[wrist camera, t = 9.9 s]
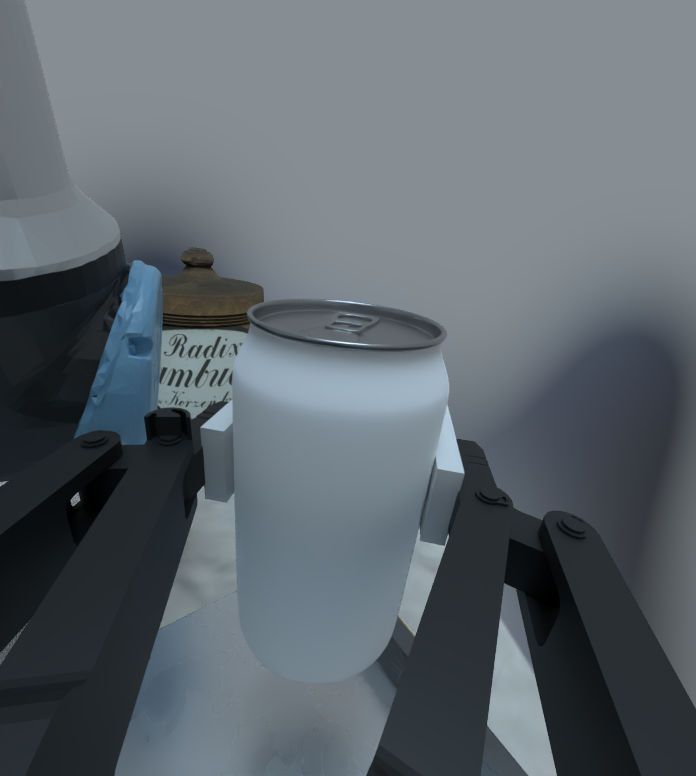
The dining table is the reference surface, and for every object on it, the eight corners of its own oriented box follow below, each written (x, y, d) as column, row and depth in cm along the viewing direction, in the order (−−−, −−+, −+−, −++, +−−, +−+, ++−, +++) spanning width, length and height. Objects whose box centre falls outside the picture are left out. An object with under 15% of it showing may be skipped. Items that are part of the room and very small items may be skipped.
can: (202, 658, 12) (172, 320, 8) (278, 527, 18) (286, 289, 14) (384, 722, 11) (474, 370, 7) (402, 560, 17) (457, 314, 12)
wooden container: (139, 458, 39) (106, 245, 30) (152, 401, 51) (131, 238, 43) (273, 442, 45) (277, 259, 36) (255, 394, 57) (255, 249, 49)
